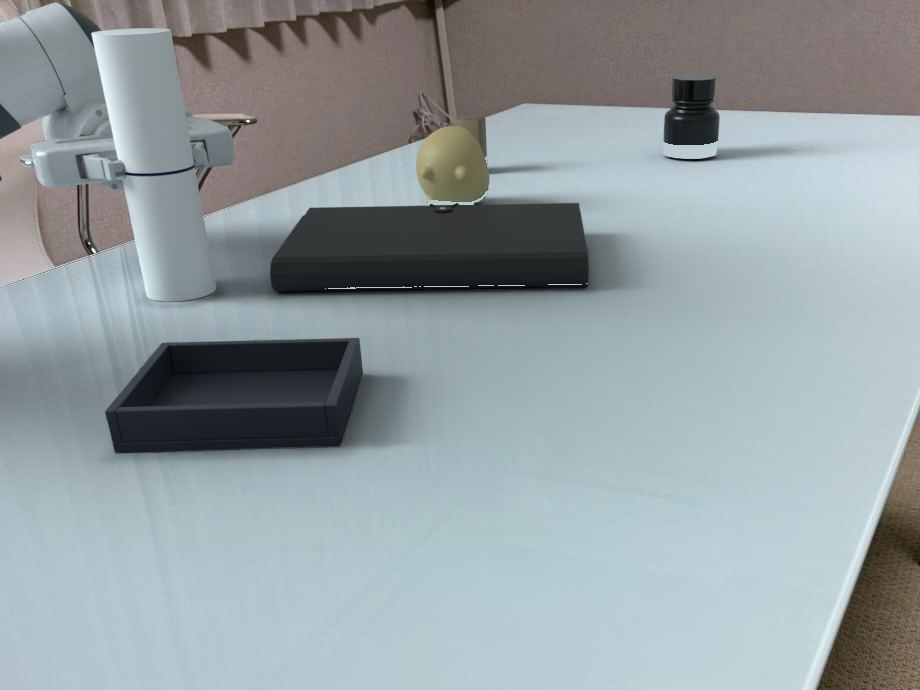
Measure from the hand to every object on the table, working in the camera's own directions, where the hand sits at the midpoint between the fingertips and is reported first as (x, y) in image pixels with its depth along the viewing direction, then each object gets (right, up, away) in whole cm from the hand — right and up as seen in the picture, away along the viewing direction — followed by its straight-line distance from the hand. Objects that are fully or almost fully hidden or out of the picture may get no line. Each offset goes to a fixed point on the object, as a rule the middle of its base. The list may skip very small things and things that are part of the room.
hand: (160, 165), depth 104 cm
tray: (+15, -27, -21) cm, 37 cm away
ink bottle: (+63, +26, +69) cm, 97 cm away
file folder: (+26, -6, +16) cm, 31 cm away
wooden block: (+27, +20, +60) cm, 69 cm away
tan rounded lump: (+27, +8, +39) cm, 48 cm away
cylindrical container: (0, -11, +7) cm, 13 cm away
